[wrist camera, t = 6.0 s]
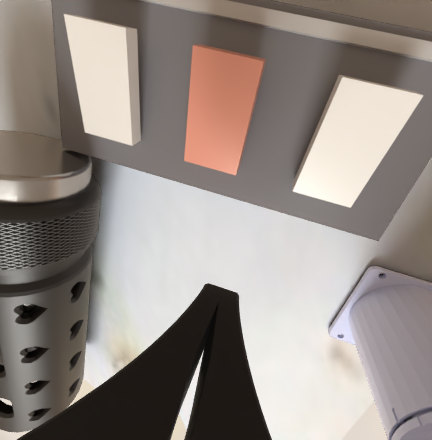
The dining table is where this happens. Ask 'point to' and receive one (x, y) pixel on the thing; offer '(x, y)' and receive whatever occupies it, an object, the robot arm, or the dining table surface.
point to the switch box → (259, 97)
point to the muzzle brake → (43, 275)
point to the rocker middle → (220, 106)
